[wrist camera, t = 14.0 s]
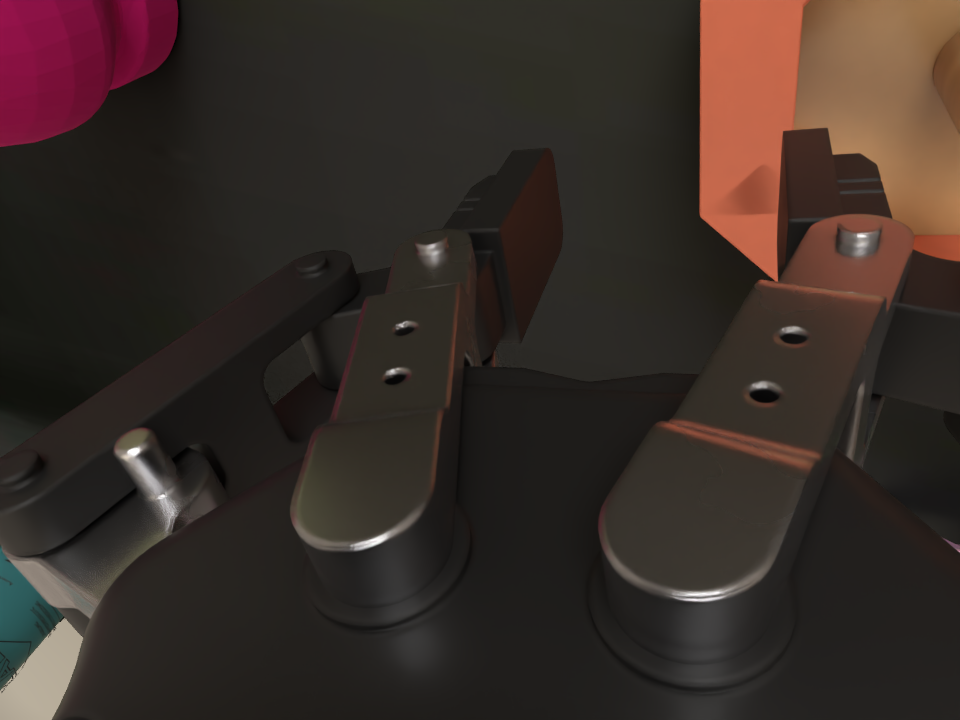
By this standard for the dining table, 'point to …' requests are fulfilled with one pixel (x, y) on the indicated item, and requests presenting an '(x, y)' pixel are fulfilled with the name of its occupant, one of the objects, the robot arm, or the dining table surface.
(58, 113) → the pepper mill
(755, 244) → the ring
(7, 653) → the beverage bottle
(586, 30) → the dining table surface
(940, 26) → the peg stand
